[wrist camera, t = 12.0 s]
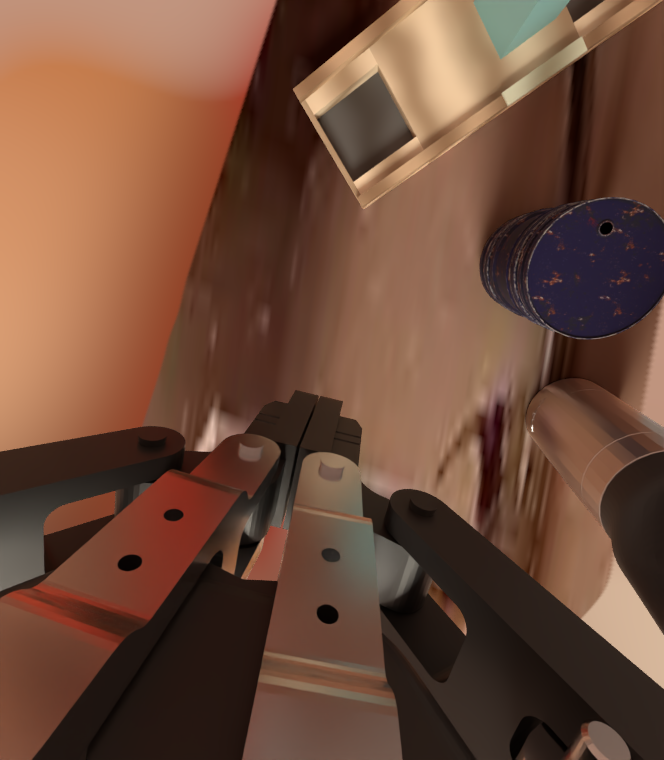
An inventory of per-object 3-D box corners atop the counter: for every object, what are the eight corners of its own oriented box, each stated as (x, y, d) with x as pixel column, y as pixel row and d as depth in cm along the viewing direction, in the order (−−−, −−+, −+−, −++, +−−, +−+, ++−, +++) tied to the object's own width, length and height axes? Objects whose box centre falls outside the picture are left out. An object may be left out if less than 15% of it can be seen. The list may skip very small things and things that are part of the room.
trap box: (363, 210, 43) (362, 207, 40) (298, 99, 41) (291, 87, 38) (662, 2, 36) (688, -21, 33) (603, -150, 33) (626, -191, 30)
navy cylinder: (570, 311, 44) (659, 342, 30) (474, 311, 45) (517, 341, 31) (585, 210, 41) (693, 191, 27) (483, 213, 42) (534, 196, 28)
